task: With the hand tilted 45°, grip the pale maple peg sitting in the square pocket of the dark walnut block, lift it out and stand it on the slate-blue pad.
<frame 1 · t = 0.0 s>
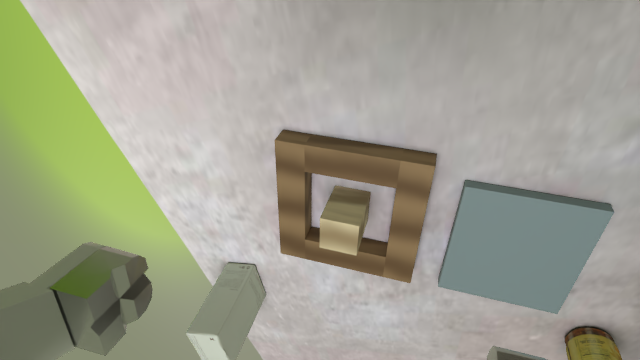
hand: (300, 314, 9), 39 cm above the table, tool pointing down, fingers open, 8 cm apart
sauce bottle: (588, 336, 57), on the table
slate pad: (513, 246, 53), on the table
pocket block: (351, 203, 56), on the table
skincare box: (249, 278, 73), on the table
maple peg: (345, 219, 54), in the pocket block
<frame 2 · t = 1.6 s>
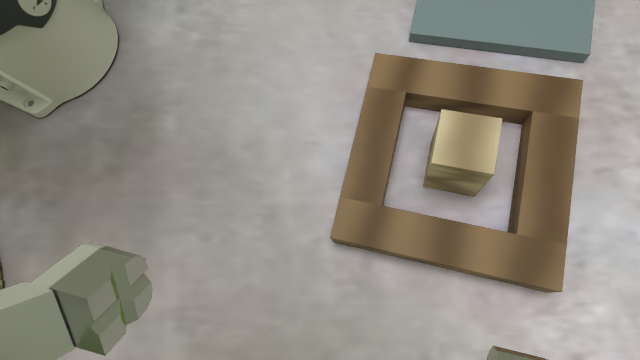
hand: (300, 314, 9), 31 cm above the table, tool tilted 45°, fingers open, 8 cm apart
pocket block: (452, 168, 40), on the table
maple peg: (458, 155, 37), in the pocket block
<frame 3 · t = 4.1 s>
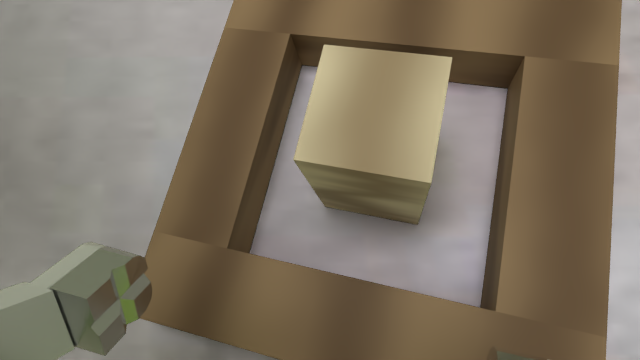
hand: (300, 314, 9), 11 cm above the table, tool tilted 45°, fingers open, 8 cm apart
pocket block: (379, 171, 22), on the table
maple peg: (376, 146, 18), in the pocket block
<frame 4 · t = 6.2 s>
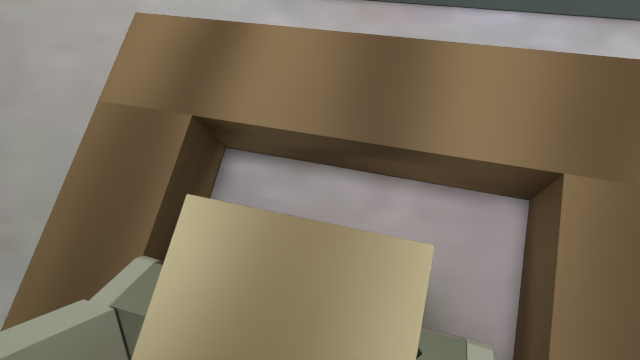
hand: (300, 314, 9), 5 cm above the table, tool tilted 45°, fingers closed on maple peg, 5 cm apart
pocket block: (329, 330, 14), on the table
maple peg: (308, 338, 11), in the pocket block, touching gripper
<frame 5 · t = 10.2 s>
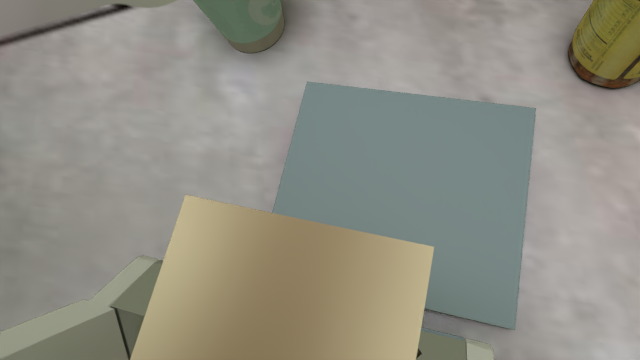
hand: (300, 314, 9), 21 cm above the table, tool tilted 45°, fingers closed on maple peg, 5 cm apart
sauce bottle: (602, 59, 32), on the table
slate pad: (396, 193, 31), on the table
maple peg: (307, 339, 10), point 20 cm above the table, touching gripper
coffee cup: (256, 28, 39), on the table
when the fingers open (8 cm above the table, at t = 14.1 s): maple peg drops 1 cm, resting on slate pad.
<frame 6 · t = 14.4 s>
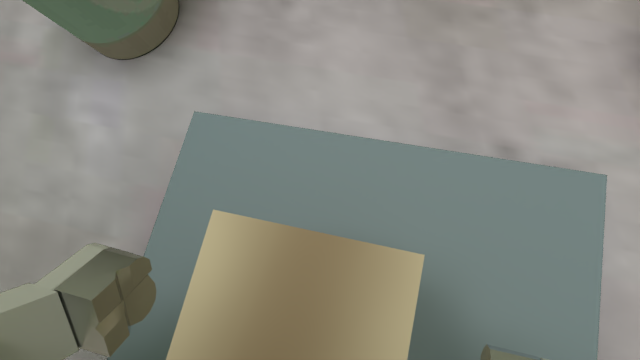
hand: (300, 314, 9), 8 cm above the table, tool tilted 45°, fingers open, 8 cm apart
slate pad: (340, 326, 17), on the table
maple peg: (315, 334, 12), on the slate pad, point 5 cm above the table
coffee cup: (136, 20, 24), on the table
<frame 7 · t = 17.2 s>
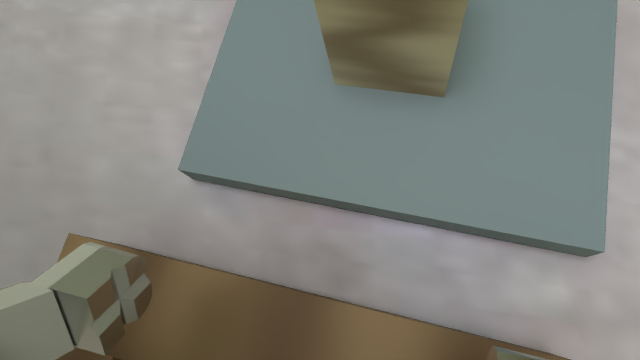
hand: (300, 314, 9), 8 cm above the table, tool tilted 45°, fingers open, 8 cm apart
slate pad: (398, 62, 20), on the table
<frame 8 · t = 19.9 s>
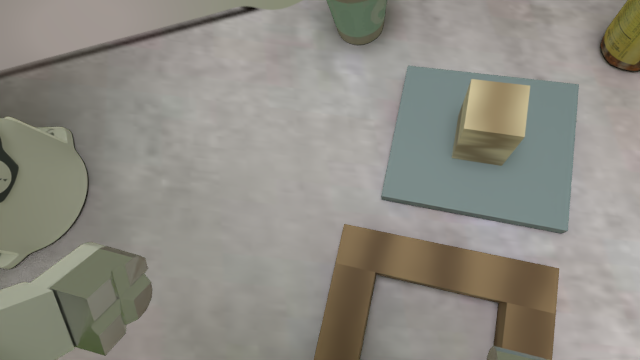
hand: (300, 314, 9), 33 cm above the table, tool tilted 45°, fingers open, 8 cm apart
sauce bottle: (625, 50, 44), on the table
slate pad: (477, 145, 44), on the table
pocket block: (425, 350, 38), on the table
maple peg: (487, 125, 39), on the slate pad, point 5 cm above the table
coffee cup: (360, 26, 51), on the table
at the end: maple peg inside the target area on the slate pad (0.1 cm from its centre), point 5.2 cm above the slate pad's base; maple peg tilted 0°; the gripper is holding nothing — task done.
